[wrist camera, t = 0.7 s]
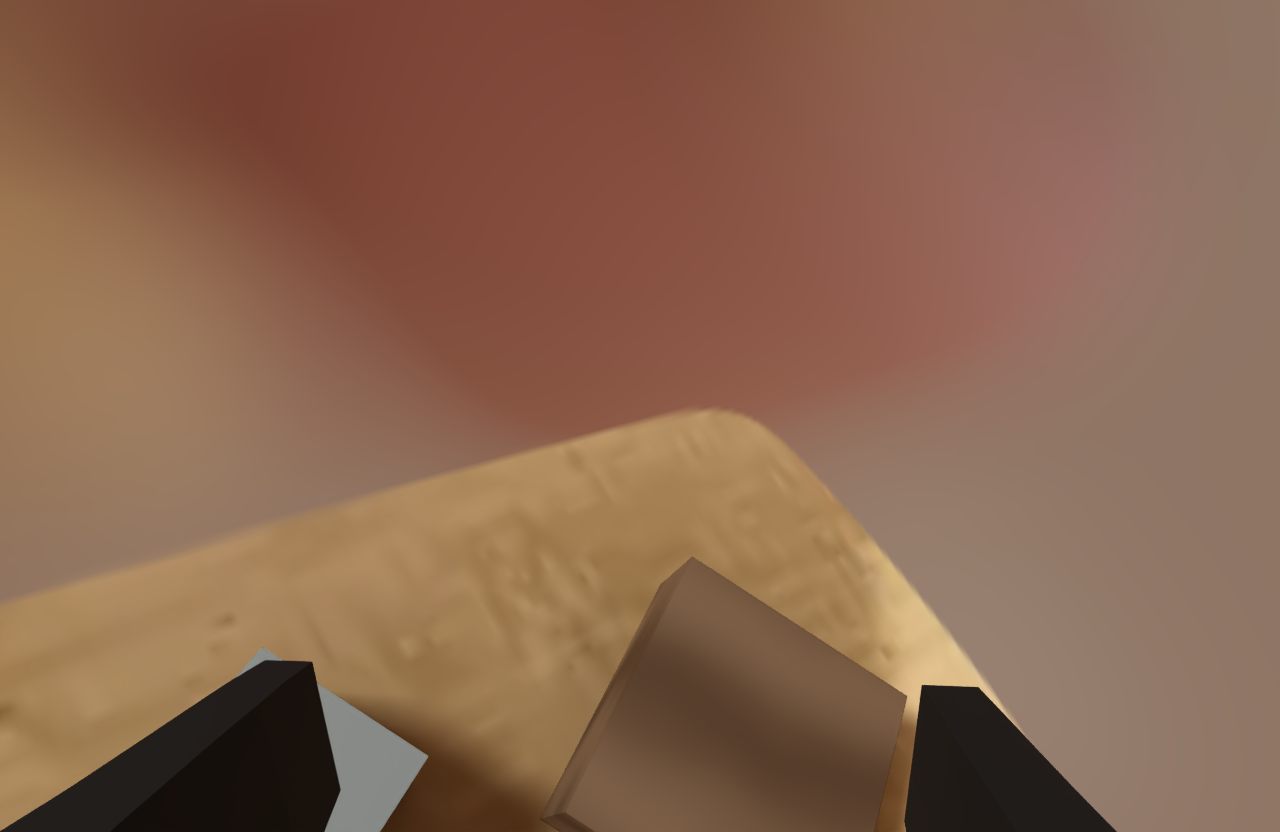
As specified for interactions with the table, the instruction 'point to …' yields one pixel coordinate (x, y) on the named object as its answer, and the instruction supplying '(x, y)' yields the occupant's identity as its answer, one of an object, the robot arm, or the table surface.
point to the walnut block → (729, 725)
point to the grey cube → (362, 763)
